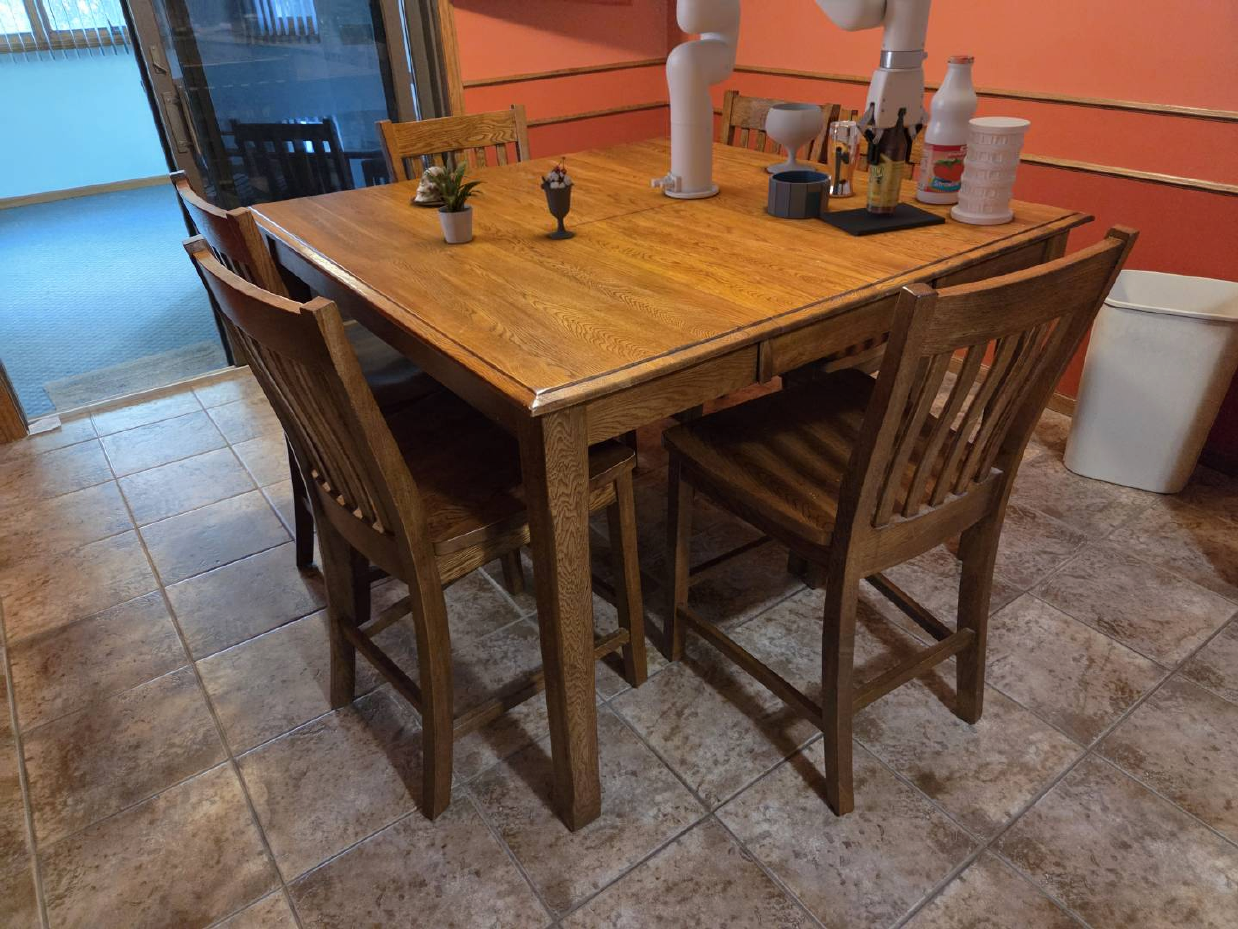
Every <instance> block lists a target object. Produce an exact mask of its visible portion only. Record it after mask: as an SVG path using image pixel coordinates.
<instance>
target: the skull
mask: <svg viewBox="0 0 1238 929" xmlns="http://www.w3.org/2000/svg"><path fill="white" fill-rule="evenodd" d="M434 167H435V168H436V169H437V170H438V172H439V173H443V174H444V171H443V168H442V167H440V166H434ZM434 167H433V166H430V167H428V169H429V170H430V171H431V172H432V173H433V174H434V175H435V176H436V177H437V179H438V180H439V182H440V183H441V184H443V185H444V183H443V181H442V179H441V177H440V176H439V175H438V174H436V173H438V172H437V170H436V169H435V168H434ZM425 171H427V172H429V171H428V170H427V169H426V170H425ZM422 172H423V173H422V174H421V179H420V182H419V183H418V185H419V186H418V188H416V194H417V196H415V197H412V198H411V199H410V202H411V203H413V204H415V205H427V206H428V205H431V206H432V205H433V206H434V205H437V206H438V205H443V206H445V205H446V204H444V203H443V202H442V201H441V200H443V201H444V202H445V200H444V198H443V197H442V193H441V191H440V190H439V189H438V188H437V187H436V185H435V183H434V182H433V181H432V180H431V179H430V178H429V177H430V176H429V175H428V174H427V173H425V172H424V171H422ZM424 173H425V174H427V175H428V176H429V177H428V176H426V175H425V174H424ZM429 173H430V172H429ZM430 174H431V173H430ZM431 175H432V174H431ZM452 182H453V175H452V174H451V183H452ZM453 185H454V183H453ZM444 186H445V185H444ZM425 193H432V194H435V195H436V196H425V197H423V195H424V194H425ZM437 196H438V197H439V198H440V199H441V200H439V199H434V198H432V199H428V198H431V197H435V198H438V197H437ZM440 196H441V197H440ZM422 197H423V198H422ZM458 197H459V195H458ZM426 199H428V200H426ZM445 203H446V202H445ZM446 206H447V205H446Z"/></svg>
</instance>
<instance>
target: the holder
mask: <svg viewBox="0 0 1238 929" xmlns="http://www.w3.org/2000/svg"><path fill="white" fill-rule="evenodd" d="M830 182H831V175H829V173H825V172H823V171H818V170H815V171H811V170H789V171H781V172H777V173H772V174H769V177H768V188H767V190H768V192H767V207H766V208H767V211H766V213H768V214H769V215H772V216H774V217H778V218H784V219H796V220H797V219H800V220H802V219H813V218H820V214H822V213H829V202H830V196H829V193H830Z"/></svg>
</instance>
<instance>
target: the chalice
mask: <svg viewBox="0 0 1238 929" xmlns="http://www.w3.org/2000/svg"><path fill="white" fill-rule="evenodd" d="M764 126H765V127H764V129H765V133H766V134H767V136H768V137H769V138H770V139H771V140H772V141H774V142H776V143H777V144H779V145H780V146H782V147H783V148H784V149H785V151H786V152H787V156H788V157H787V160H786V161H785V162H782V163H776V164H775V163H774V164H772V165H769V166H767V168H766V170H767V171H768V172H769V173H772V174H774V173H777V172H781V171H789V170H811V171H816V167H815V166H814V165H812V164H808V163H803V162H798V161H797V158H796V157H797V154H798V152H799V150H800V149H801V148H803V147H804V146H805V145H807V144H808V143H810V142H812V141H813V140H815V139H817V138H818V137H819V136H820V134H822V132H823V129H824V115H823V111H822V109H821V107H820V105H818V104H815V103H808V102H788V103H787V102H786V103H778V104H774V105H772V106H771V107H770V109H769V111H768V112H767V116H766V119H765V124H764Z"/></svg>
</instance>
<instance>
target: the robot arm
mask: <svg viewBox="0 0 1238 929" xmlns="http://www.w3.org/2000/svg"><path fill="white" fill-rule="evenodd" d="M814 2H815V3H816V4H817V6H818V7H819V8H820V10H822V12H823V13H824V14H825V15H826V16H827V18H828V19H829V20H830V21H831V22H832V23H833V24H834V25H835V26H836V27H838V28H840V29H841V30H842V31H846V32H848V33H849V32H850V33H853V32H859V31H865V30H871V29H876V28H882V27H883V32H882V41H881V49H880V58H879V65H878V67H879V68H878V69H874V72H873V74H872V78H871V81H870V84H869V87H868V93H867V98H866V103H865V108H864V113H863V115H862V116H861V117H860V118H859V119H858V120H857V121H856V122H857V123H856V127H857V128H858V129H859V131H860V132H861V136H862V137H863V138H864V139H865V142H866V143H867V149H866V156H865V158H866V164H868V165H870V166H871V165H873V166H878V164H879V158H880V150H881V144H878V142H879V140H880V138H881V136H882V134H883V132H884V129H885V128H891V127H894V126H895V125H896V122H897V120H898V118H899V117H898V115H897V114H898V111H899V109H900V108H904V107H906V114H905V116H904V117H903V118H904V119H903V122H904V123H903V124H904V131H903V133H904V136H905V138H906V141H907V150H906V156H905V158H906V160H905V163H909V162H910V160H911V155H912V149H913V143H914V141H915V140H916V139H917V137H918V136H917V135H918V134H919V133H920V132H921V131H922V129H923V128H924V126H925V125H927V123H929V121H930V119H931V115H930V113H928V112H927V110H926V109H925V107H924V101H925V100H924V98H925V68H924V67H923V61H926V60H927V59H928V56H929V54H928V52H927V51H925V46H926V40H927V33H928V26H929V20H930V18H929V17H930V13H931V5H932V0H814ZM741 15H742V4H741V0H676V23H677V25H678V27H679V28H680V30H681V31H682V32H684V33H686V34H688V35H700V39H696V40H690V41H686V42H683V43H681V44H679V45H677V46H675V47H674V48H673V49H672V50H671V52H670V53H669V55H668V57H667V60H666V65H665V75H666V83H667V86H668V92H669V103H670V104H669V106H670V172H669V171H668V172H667V173H666V175H665V176H664V177H662V178H660V177H658V178H652V179H651V180H650V181H651V187H652V188H661V189H664V194H665V195H667V196H668V197H671V198H675V199H686V200H687V199H693V200H695V199H703V198H708V197H713V196H715V195H717V194H718V193H719V192H720V190H719V188H720V187H719V185H717V184H716V183H713V162H714V160H713V159H714V158H713V156H714V105H713V100H712V96H711V93H710V90H709V88H710V87H713V86H717V85H720V84H723V83H724V82H725V81H727V80H728V79H729V78H730V76H731V75H732V73H733V71H734V69H735V65H736V60H737V53H738V44H739V35H740V34H739V33H740V26H741ZM869 126H870V128H869Z"/></svg>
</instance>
